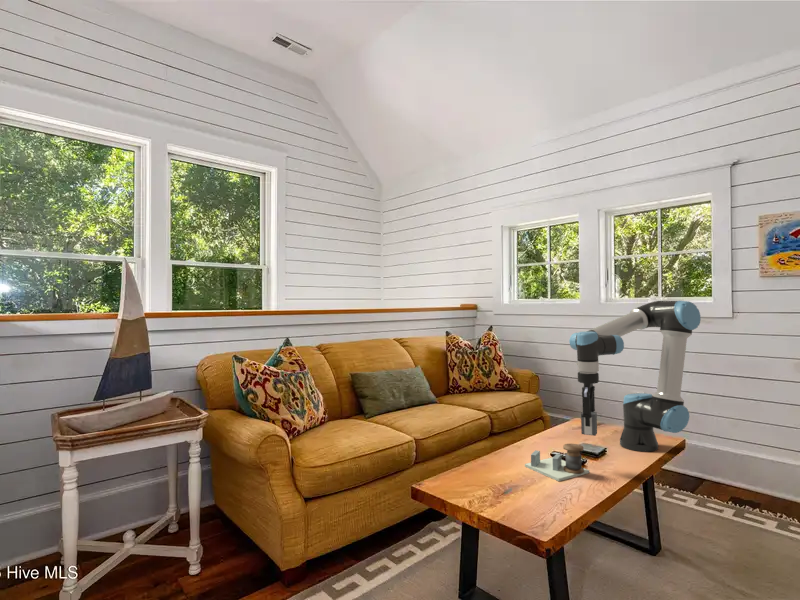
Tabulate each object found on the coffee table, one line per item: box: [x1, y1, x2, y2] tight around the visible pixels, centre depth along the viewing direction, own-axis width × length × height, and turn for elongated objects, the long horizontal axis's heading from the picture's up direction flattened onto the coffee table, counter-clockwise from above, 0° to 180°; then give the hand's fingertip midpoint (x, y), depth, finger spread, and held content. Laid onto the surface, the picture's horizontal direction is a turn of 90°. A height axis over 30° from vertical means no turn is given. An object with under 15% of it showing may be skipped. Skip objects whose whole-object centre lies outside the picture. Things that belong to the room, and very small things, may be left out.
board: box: [524, 456, 590, 482], centre depth 184 cm, size 16×18×1 cm
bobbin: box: [562, 443, 584, 474], centre depth 180 cm, size 7×7×9 cm
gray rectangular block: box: [580, 411, 598, 437], centre depth 183 cm, size 4×5×8 cm
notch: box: [530, 450, 562, 471], centre depth 185 cm, size 6×10×4 cm, turn 58°
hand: (589, 432), depth 183 cm, fingers closed on gray rectangular block, 4 cm apart
